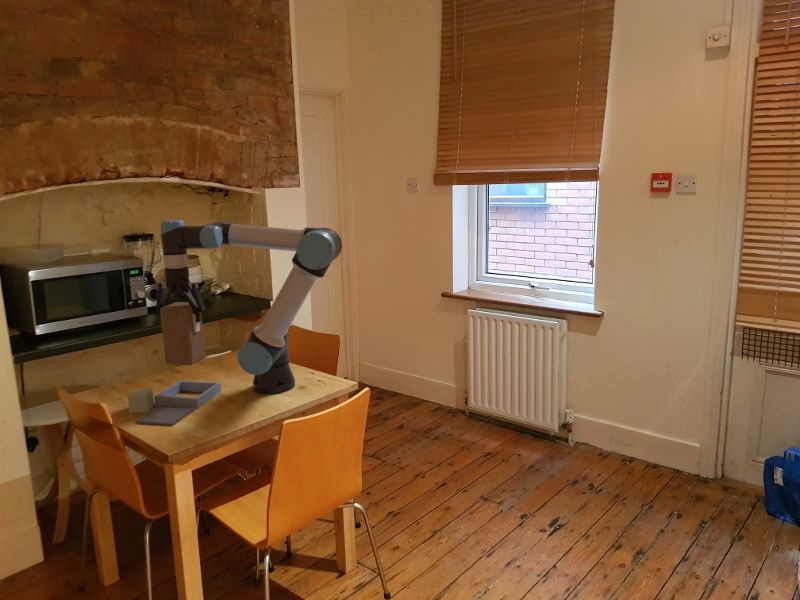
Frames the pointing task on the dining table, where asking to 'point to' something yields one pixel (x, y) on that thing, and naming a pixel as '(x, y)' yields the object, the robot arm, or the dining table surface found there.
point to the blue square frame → (191, 402)
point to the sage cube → (140, 400)
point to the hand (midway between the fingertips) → (182, 331)
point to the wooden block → (181, 335)
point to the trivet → (165, 415)
